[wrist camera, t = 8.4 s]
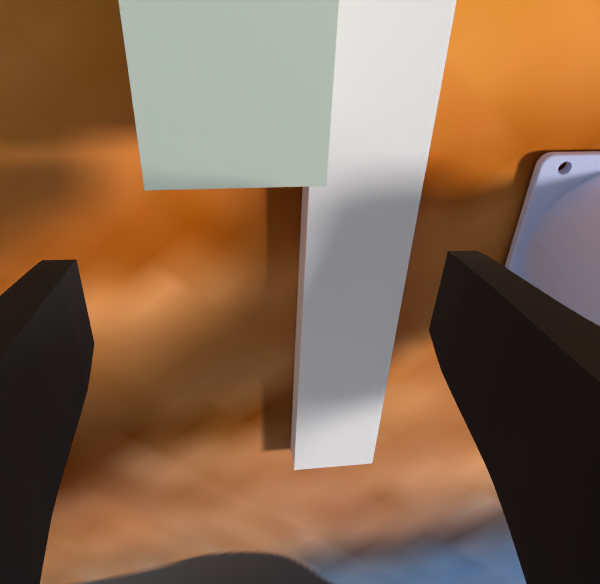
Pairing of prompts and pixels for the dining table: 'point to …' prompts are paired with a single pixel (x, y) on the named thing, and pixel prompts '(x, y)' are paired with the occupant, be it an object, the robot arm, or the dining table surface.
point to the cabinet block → (231, 91)
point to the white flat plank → (363, 223)
